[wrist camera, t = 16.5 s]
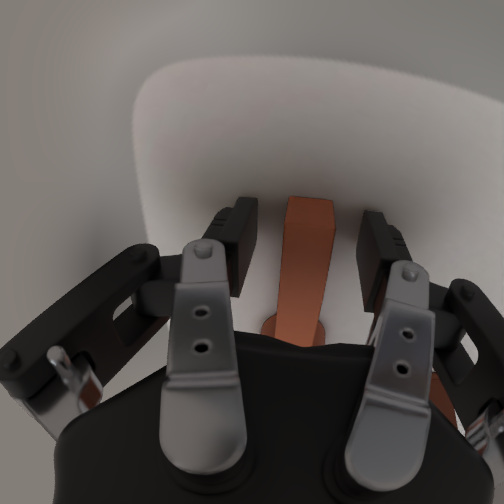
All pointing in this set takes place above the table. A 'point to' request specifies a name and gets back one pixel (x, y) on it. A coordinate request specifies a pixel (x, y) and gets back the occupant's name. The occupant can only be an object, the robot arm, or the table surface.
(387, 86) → the table surface
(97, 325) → the robot arm
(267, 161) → the table surface
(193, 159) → the table surface
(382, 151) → the table surface
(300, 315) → the terracotta spoon
